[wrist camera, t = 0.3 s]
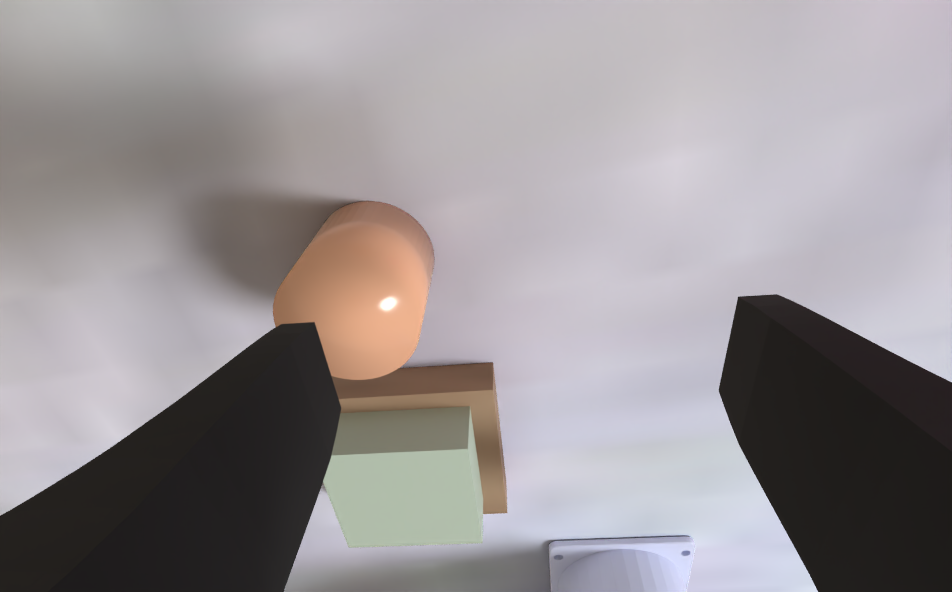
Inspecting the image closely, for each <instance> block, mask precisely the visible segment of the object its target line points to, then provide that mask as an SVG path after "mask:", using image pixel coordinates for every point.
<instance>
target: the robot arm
mask: <svg viewBox="0 0 952 592" xmlns="http://www.w3.org/2000/svg"><path fill="white" fill-rule="evenodd" d="M719 393H720V396H721V398H722V401H723V404H724V407H725V409H726V412H727V415H728V418H729V421H730V423H731V426H732V428H733V431H734V433H735V436H736V438H737V441H738V443H739V445H740V447H741V449H742V451H743V453H744V455H745V457H746V459H747V460H748V462H749V464H750V466H751V468H752V470H753V472H754V474H755V475H756V477H757V479H758V481H759V483H760V485H761V487H762V488H763V490H764V492H765V494H766V496H767V498H768V499H769V501H770V503H771V505H772V507H773V508H774V510H775V512H776V514H777V516H778V518H779V519H780V521H781V523H782V525H783V527H784V529H785V530H786V532H787V534H788V536H789V538H790V539H791V541H792V543H793V545H794V547H795V549H796V550H797V552H798V554H799V556H800V558H801V560H802V561H803V563H804V565H805V567H806V569H807V571H808V572H809V574H810V576H811V578H812V580H813V582H814V584H815V586H816V588H817V590H818V592H952V382H950V381H948V380H946V379H944V378H941V377H939V376H937V375H935V374H933V373H931V372H929V371H927V370H925V369H923V368H921V367H919V366H917V365H915V364H914V363H912V362H910V361H908V360H906V359H904V358H902V357H900V356H898V355H896V354H894V353H892V352H890V351H888V350H886V349H884V348H882V347H881V346H879V345H877V344H875V343H873V342H871V341H869V340H867V339H865V338H863V337H861V336H860V335H858V334H856V333H854V332H852V331H850V330H848V329H846V328H844V327H842V326H841V325H839V324H837V323H835V322H833V321H831V320H829V319H827V318H825V317H823V316H821V315H819V314H817V313H815V312H813V311H812V310H810V309H808V308H806V307H803V306H801V305H799V304H797V303H795V302H793V301H791V300H789V299H786V298H784V297H782V296H779V295H760V296H743V297H738V301H737V305H736V310H735V315H734V320H733V324H732V329H731V334H730V339H729V344H728V348H727V353H726V358H725V363H724V367H723V372H722V377H721V382H720V387H719ZM340 413H341V405H340V402H339V399H338V396H337V392H336V389H335V386H334V383H333V379H332V376H331V373H330V370H329V367H328V363H327V360H326V357H325V354H324V350H323V347H322V344H321V341H320V338H319V334H318V331H317V328H316V325H315V322H306V323H290V324H281V325H279V326H277V327H276V328H274V329H273V330H271V331H270V332H268V333H267V334H265V335H264V336H262V337H261V338H260V339H258V340H257V341H256V342H254V343H253V344H252V345H250V346H249V347H248V348H246V349H245V350H244V351H242V352H241V353H240V354H238V355H237V356H236V357H234V358H233V359H232V360H231V361H229V362H228V363H227V364H225V365H224V366H223V367H221V368H220V369H219V370H217V371H216V372H215V373H213V374H212V375H211V376H209V377H208V378H207V379H206V380H204V381H203V382H202V383H200V384H199V385H198V386H196V387H195V388H194V389H192V390H191V391H190V392H188V393H187V394H186V395H184V396H183V397H182V398H180V399H179V400H178V401H176V402H175V403H174V404H172V405H171V406H169V407H168V408H166V409H165V410H164V411H162V412H161V413H159V414H158V415H157V416H155V417H154V418H152V419H151V420H149V421H148V422H147V423H145V424H144V425H142V426H141V427H140V428H138V429H137V430H135V431H134V432H133V433H131V434H130V435H128V436H127V437H125V438H124V439H123V440H121V441H120V442H118V443H117V444H116V445H114V446H113V447H111V448H110V449H108V450H107V451H105V452H104V453H102V454H101V455H99V456H98V457H96V458H95V459H93V460H91V461H90V462H88V463H87V464H85V465H84V466H82V467H81V468H79V469H77V470H76V471H74V472H73V473H71V474H69V475H68V476H66V477H65V478H63V479H61V480H60V481H58V482H56V483H55V484H53V485H52V486H50V487H48V488H47V489H45V490H43V491H42V492H40V493H38V494H37V495H35V496H34V497H32V498H30V499H29V500H27V501H25V502H24V503H22V504H20V505H18V506H17V507H15V508H13V509H12V510H10V511H8V512H6V513H5V514H3V515H1V516H0V592H284V589H285V586H286V583H287V580H288V577H289V575H290V572H291V569H292V566H293V563H294V561H295V558H296V555H297V552H298V550H299V547H300V544H301V541H302V539H303V536H304V533H305V530H306V527H307V525H308V522H309V519H310V516H311V514H312V511H313V508H314V505H315V503H316V500H317V497H318V494H319V491H320V488H321V486H322V483H323V480H324V477H325V474H326V471H327V468H328V465H329V462H330V459H331V455H332V451H333V446H334V442H335V438H336V433H337V428H338V423H339V418H340ZM695 547H696V546H695V542H694V540H693V539H692V538H691V537H687V536H680V537H651V538H622V539H594V540H565V541H554V542H551V543H550V544H549V565H550V585H551V592H687V586H688V581H689V577H690V572H691V567H692V562H693V557H694V552H695Z"/></svg>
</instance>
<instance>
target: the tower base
mask: <svg viewBox="0 0 952 592" xmlns="http://www.w3.org/2000/svg"><path fill="white" fill-rule="evenodd" d="M332 379H333V383H334V386H335V389H336V392H337V396H338V399H339V402H340V405H341V413H356V412H375V411H393V410H412V409H430V408H449V407H468V406H470V410H471V417H472V424H473V431H474V438H475V445H476V452H477V459H478V466H479V473H480V480H481V487H482V494H483V514H494V513H507V490H506V476H505V467H504V458H503V449H502V440H501V431H500V422H499V413H498V404H497V395H496V386H495V377H494V368H493V363H477V364H461V365H445V366H429V367H413V368H398V369H397V370H395V371H393V372H391V373H389V374H387V375H384V376H381V377H378V378H373V379H366V380H350V379H342V378H337V377H333V376H332Z"/></svg>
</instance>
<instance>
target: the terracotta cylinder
mask: <svg viewBox="0 0 952 592" xmlns="http://www.w3.org/2000/svg"><path fill="white" fill-rule="evenodd" d="M434 260H435V258H434V250H433V246H432V243H431V241H430V238H429V236H428V235H427V233H426V231H425V230H424V228H423V227H422V226H421V225H420V224H419V223H418V221H417V220H416V219H414V218H413V217H412V216H411V215H409V214H408V213H406V212H405V211H403V210H401V209H399V208H397V207H395V206H392V205H390V204H386V203H382V202H375V201H362V202H355V203H352V204H348V205H346V206H344V207H341V208H340V209H338V210H337V211H335V212H334V213H333V214H331V215H330V216H329V217H328V219H327V220H326V221H325V222H324V224H323V225H322V226H321V228H320V229H319V231H318V232H317V234H316V235H315V236H314V238H313V239H312V241H311V242H310V244H309V245H308V246H307V248H306V249H305V251H304V252H303V254H302V255H301V256H300V258H299V259H298V261H297V262H296V264H295V265H294V266H293V268H292V269H291V271H290V272H289V273H288V275H287V276H286V278H285V279H284V281H283V282H282V283H281V285H280V287H279V289H278V290H277V293H276V296H275V299H274V304H273V316H274V322H275V325H276V327H277V326H279V325H281V324H290V323H306V322H315V325H316V328H317V331H318V334H319V338H320V341H321V344H322V347H323V350H324V354H325V357H326V360H327V363H328V367H329V370H330V373H331V376H333V377H337V378H342V379H350V380H366V379H373V378H378V377H381V376H384V375H387V374H389V373H391V372H393V371H395V370H397V369H398V368H400V367H401V366H402V365H403V364H405V363H406V362H407V361H408V359H409V358H410V357H411V356H412V354H413V353H414V351H415V349H416V347H417V344H418V341H419V336H420V332H421V327H422V322H423V317H424V312H425V308H426V303H427V298H428V293H429V288H430V284H431V279H432V274H433V269H434Z"/></svg>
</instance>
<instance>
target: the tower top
mask: <svg viewBox="0 0 952 592" xmlns="http://www.w3.org/2000/svg"><path fill="white" fill-rule="evenodd" d="M323 483H324V486H325V488H326V491H327V493H328V496H329V498H330V501H331V504H332V506H333V509H334V511H335V514H336V516H337V519H338V521H339V524H340V526H341V529H342V532H343V534H344V537H345V539H346V542H347V544H348V547H349V548H354V547H384V546H413V545H443V544H473V543H482V542H483V494H482V487H481V480H480V473H479V466H478V459H477V452H476V445H475V438H474V431H473V424H472V417H471V410H470V406H468V407H449V408H430V409H412V410H393V411H375V412H356V413H340V418H339V423H338V428H337V433H336V438H335V442H334V446H333V451H332V455H331V459H330V462H329V465H328V468H327V471H326V474H325V477H324V480H323Z"/></svg>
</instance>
